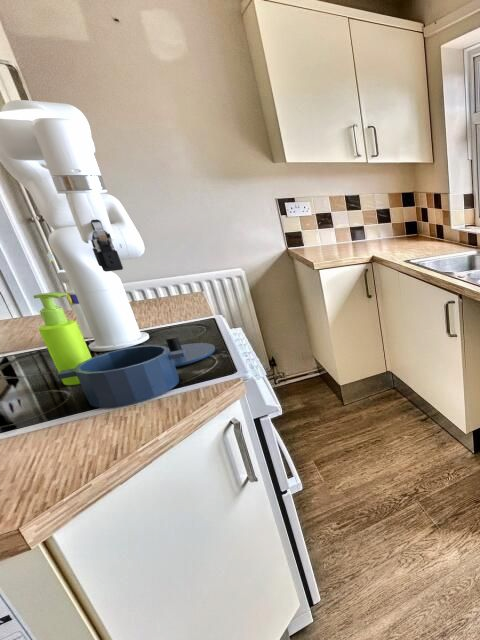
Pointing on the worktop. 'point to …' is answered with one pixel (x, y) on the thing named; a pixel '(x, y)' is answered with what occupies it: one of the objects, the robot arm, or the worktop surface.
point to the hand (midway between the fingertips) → (111, 267)
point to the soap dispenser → (62, 337)
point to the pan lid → (189, 350)
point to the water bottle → (73, 302)
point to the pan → (127, 375)
